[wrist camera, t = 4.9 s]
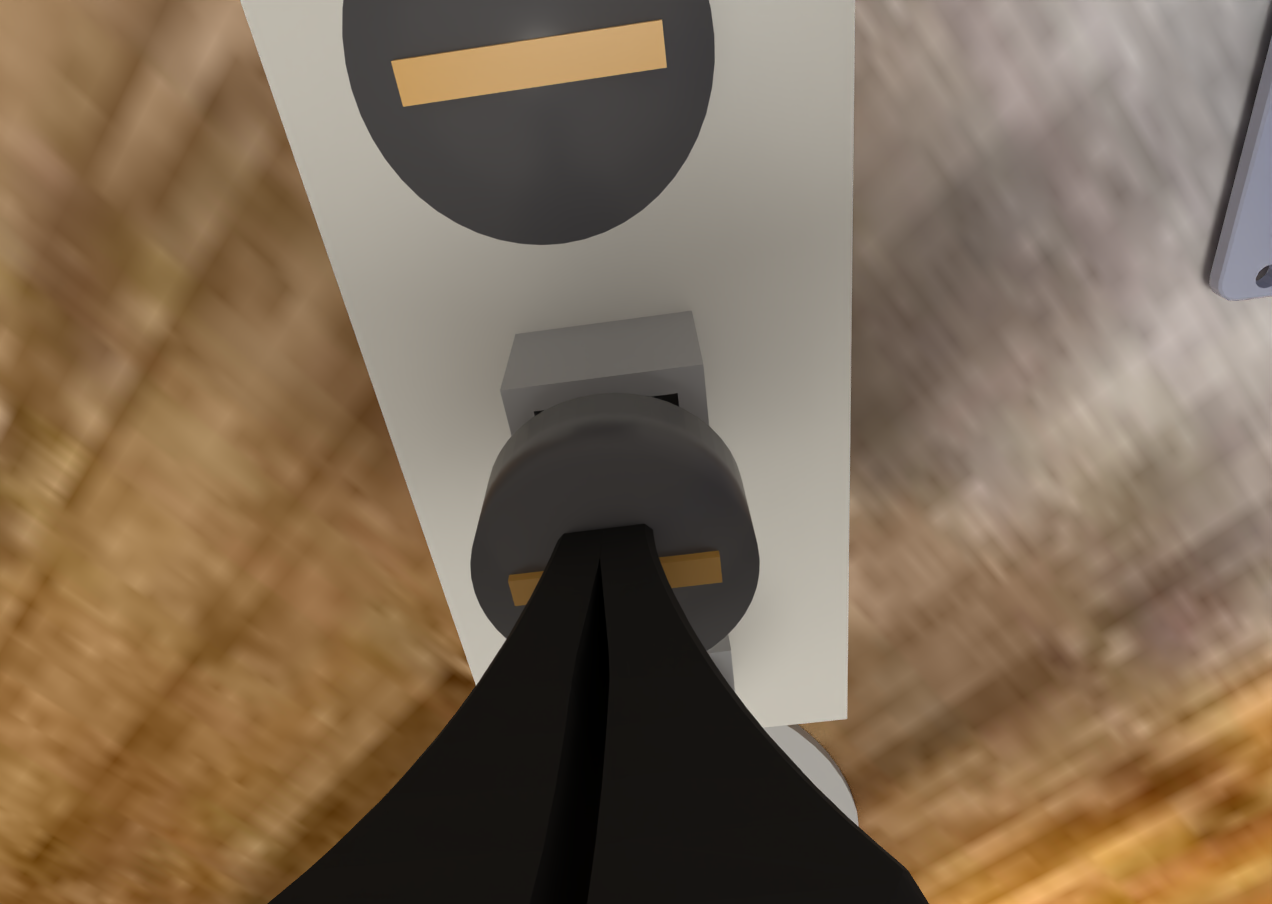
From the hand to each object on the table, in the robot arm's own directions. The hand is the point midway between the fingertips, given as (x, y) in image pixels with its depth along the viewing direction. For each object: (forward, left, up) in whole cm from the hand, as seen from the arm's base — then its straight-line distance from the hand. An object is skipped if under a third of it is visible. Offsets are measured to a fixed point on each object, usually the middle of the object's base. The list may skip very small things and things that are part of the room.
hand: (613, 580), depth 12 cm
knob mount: (0, 0, -7) cm, 7 cm away
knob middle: (0, 0, -4) cm, 4 cm away
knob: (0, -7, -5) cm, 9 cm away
